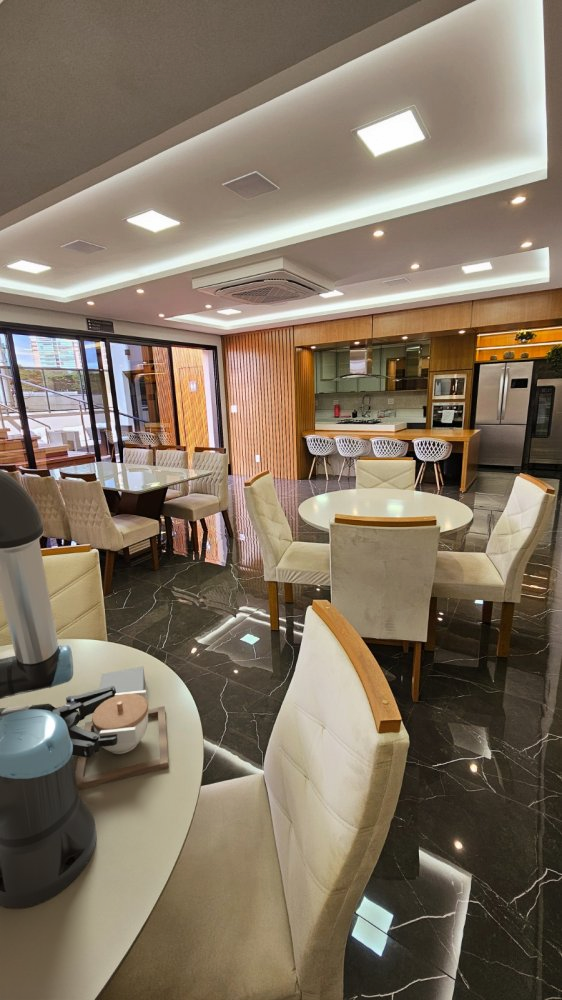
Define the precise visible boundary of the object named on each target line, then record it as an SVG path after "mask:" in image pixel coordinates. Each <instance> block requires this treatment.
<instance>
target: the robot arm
mask: <svg viewBox="0 0 562 1000" xmlns="http://www.w3.org/2000/svg"><path fill="white" fill-rule="evenodd" d="M44 530H45V529H44V525H43V520H42V514H41V512H40V510H39V508H38V505H37V504H36V501H34V499H33V497H32V496H31V495H30V493H29V492H28V490H26V488H25V487H23V485H22V484H20V482H18V481H17V480H16V478H14V477H12V475H10V474H8V473H6V472H5V471H4V470H2V469H0V598H1V599H0V600H1V603H2V607H3V610H4V614H5V615H4V616H5V619H6V623H7V628H8V630H9V631H8V632H9V636H10V639H11V640H10V641H11V643H12V647H13V652H14V655H13V656H9V657H8V656H7V657H4V658H0V700H2V699H6V698H11V697H14V696H18V695H23V694H27V693H31V692H37V691H41V690H45V689H52V688H53V687H57V686H61V685H63V684H66V683H69V682H70V681H71V680H72V679H73V676H74V658H73V652H72V649H71V647H70V646H69V645H68V644H65V645H59V642H58V635H57V629H56V625H55V619H54V614H53V609H52V604H51V598H50V593H49V587H48V581H47V577H46V569H45V565H44V559H43V555H42V550H41V544H40V539H41V538H42V536H44V532H45V531H44ZM121 694H138V695H140V696H142V697H144V698H145V699H146V700H147V701H148V694H147V689H145V690H142V691H127V692H116V689H115V686H111V687H107V688H103V689H99V688H98V689H96V690H92V691H88V692H85V693H82V694H77V695H68V696H67V697H66V698H65V700H66V701H65V702H66V703H65V705H62V706H59V707H54V706H53V705H52V704H51V703H42V704H41V703H40V704H32V705H31V706H30V705H22V706H21V705H17V706H9V707H0V906H2V907H4V908H9V909H22V908H29V907H33V906H36V905H39V904H41V903H43V902H46V901H48V900H50V899H51V898H53V897H55V896H56V895H58V894H60V893H61V892H62V891H64V890H65V889H66V888H67V887H68V886H70V885H71V884H72V883H73V882H74V881H75V880H76V878H78V876H79V875H80V874H81V873H82V871H83V870H84V869H85V868H86V866H87V865H88V863H89V862H90V860H91V857H92V855H93V853H94V851H95V848H96V845H97V844H96V843H97V827H96V822H95V817H94V815H93V812H92V811H91V809H90V808H89V807H88V805H87V804H86V802H85V800H83V798H82V797H81V796H80V794H79V790H78V788H77V781H76V775H75V772H76V768H75V765H74V757H73V756H75V757H78V756H81V757H87V759H88V758H92V757H93V756H94V754H97V753H98V754H99V752H101V748H103V747H105V746H114V745H116V744H121V743H130V742H136V740H137V735H136V727H129V728H120V729H110V730H101V731H100V736H98V734H95V732H93V731H92V732H90V731H88V730H85V729H84V727H82V726H81V727H80V726H78V724H79V723H80V722H81V721H83V720H84V719H85V718H86V717H87V716H89V715H93V713H94V711H95V710H96V708H97V707H98V706H99V705H100V704H101V703H103V702H104V701H106V700H108V699H110V698H112V697H114V696H117V695H121ZM84 748H85V749H86V750H84Z"/></svg>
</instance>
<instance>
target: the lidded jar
mask: <svg viewBox="0 0 562 1000" xmlns="http://www.w3.org/2000/svg"><path fill="white" fill-rule="evenodd" d="M148 709H149V704H148V699H147V700H146V699H145V698H144V697H142V696H140V695H138V694H121V695H117V696H114V697H112V698H110V699H108V700H106V701H104V702H103V703H101V704H100V705H99V706H98V707H97V708H96V710H95V711H94V713H92V716H91V717H92V718H91V721H92V722H93V726H94V730H93V731H94V733H95V734H98V736H100V731H101V730H110V729H120V728H129V727H136V735H137V740H136V742H130V743H121V744H116V745H114V746H105V747H102V748H103V749H105V750H106V751H108V752H110V753H111V754H115V755H122V754H125V753H126V754H127V753H129V752H131V751H132V750H134V749H135V748H136V747H137V746H138V744H139V743H140V742H141V740H142V739H144V737H145V734H146V733H147V729H148V725H149V718H148Z"/></svg>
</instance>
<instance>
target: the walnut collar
mask: <svg viewBox="0 0 562 1000" xmlns="http://www.w3.org/2000/svg"><path fill="white" fill-rule="evenodd" d="M151 718H157V719H158V745H159V757H158V758H155V759H152V760H148V761H143V762H138V763H133V764H130V765H126V766H121V767H117V768H113V769H111V770H105V771H101V772H97V773H94V774H89V775H86V771H87V770H86V769H87V763H88V758H87V757H81V756H77V757H78V758H77V762H76V767H75V775H76V781H77V788H78V791H79V790H82V789H86V788H87V789H88V788H90V787H95V786H99V785H102V784H107V783H110V782H115V781H118V780H122V779H127V778H132V777H135V776H140V775H144V774H147V773H151V772H155V771H160V770H162V769H163V770H164V769H166V768H167V769H168V768H169V754H168V752H169V751H168V737H167V722H166V706H165V705H162V706H157V707H153V708H148V719H151ZM83 729H85V730H88V731H90V732H93V731H94V726H93V722H92V720H91V721H86V722H84V725H83ZM84 750H86V749H85V748H84Z"/></svg>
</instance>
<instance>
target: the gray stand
mask: <svg viewBox="0 0 562 1000" xmlns="http://www.w3.org/2000/svg"><path fill="white" fill-rule="evenodd" d="M144 668H145V667H144V666H138V667H132V668H131V667H130V668H126V669H121V670H115V671H111V672H109V671H108V672H106V673H101V674H100V675H101V676H100V680H99V681H100V682H99V688H98V690H99V689H103V688H107V687H111V686H115V689H116V692H127V691H142V690H146V686H145V685H146V678H145V677H146V676H145V669H144Z"/></svg>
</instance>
